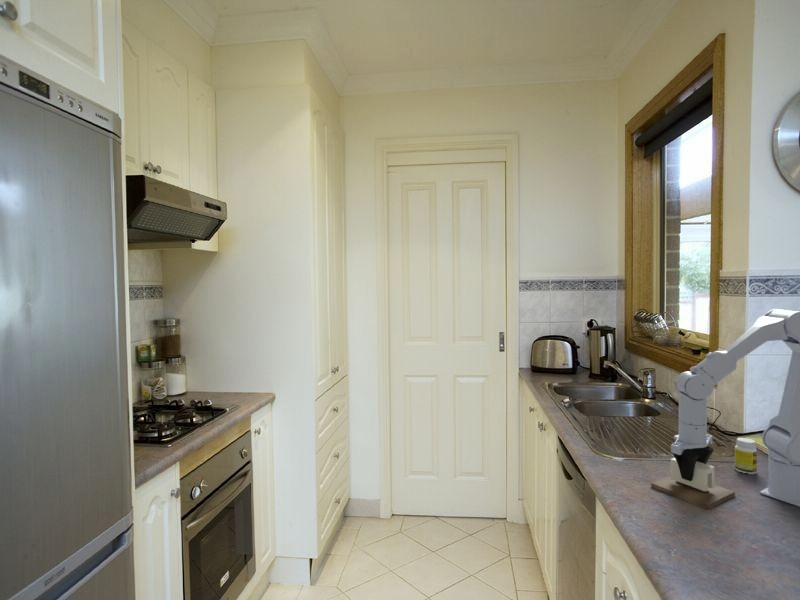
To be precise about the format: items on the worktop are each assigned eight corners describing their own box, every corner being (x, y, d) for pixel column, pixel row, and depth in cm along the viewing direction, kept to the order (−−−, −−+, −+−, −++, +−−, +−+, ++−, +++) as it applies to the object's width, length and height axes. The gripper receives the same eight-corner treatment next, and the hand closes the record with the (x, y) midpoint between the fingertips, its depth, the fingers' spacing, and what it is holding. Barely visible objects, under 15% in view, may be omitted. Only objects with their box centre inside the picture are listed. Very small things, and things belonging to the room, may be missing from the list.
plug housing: (714, 487, 107) (714, 466, 107) (705, 491, 105) (705, 470, 105) (679, 475, 114) (679, 455, 114) (670, 478, 112) (670, 459, 112)
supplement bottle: (756, 476, 117) (757, 444, 117) (734, 471, 120) (734, 440, 120) (756, 470, 121) (756, 439, 121) (734, 465, 124) (735, 435, 124)
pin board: (734, 495, 107) (734, 482, 107) (707, 509, 101) (707, 495, 101) (678, 475, 118) (678, 463, 118) (651, 486, 112) (651, 474, 112)
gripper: (691, 413, 116) (691, 465, 117) (658, 422, 109) (658, 477, 110) (722, 420, 110) (721, 475, 111) (689, 431, 103) (688, 489, 103)
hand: (692, 477), depth 110 cm, fingers closed on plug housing, 4 cm apart
